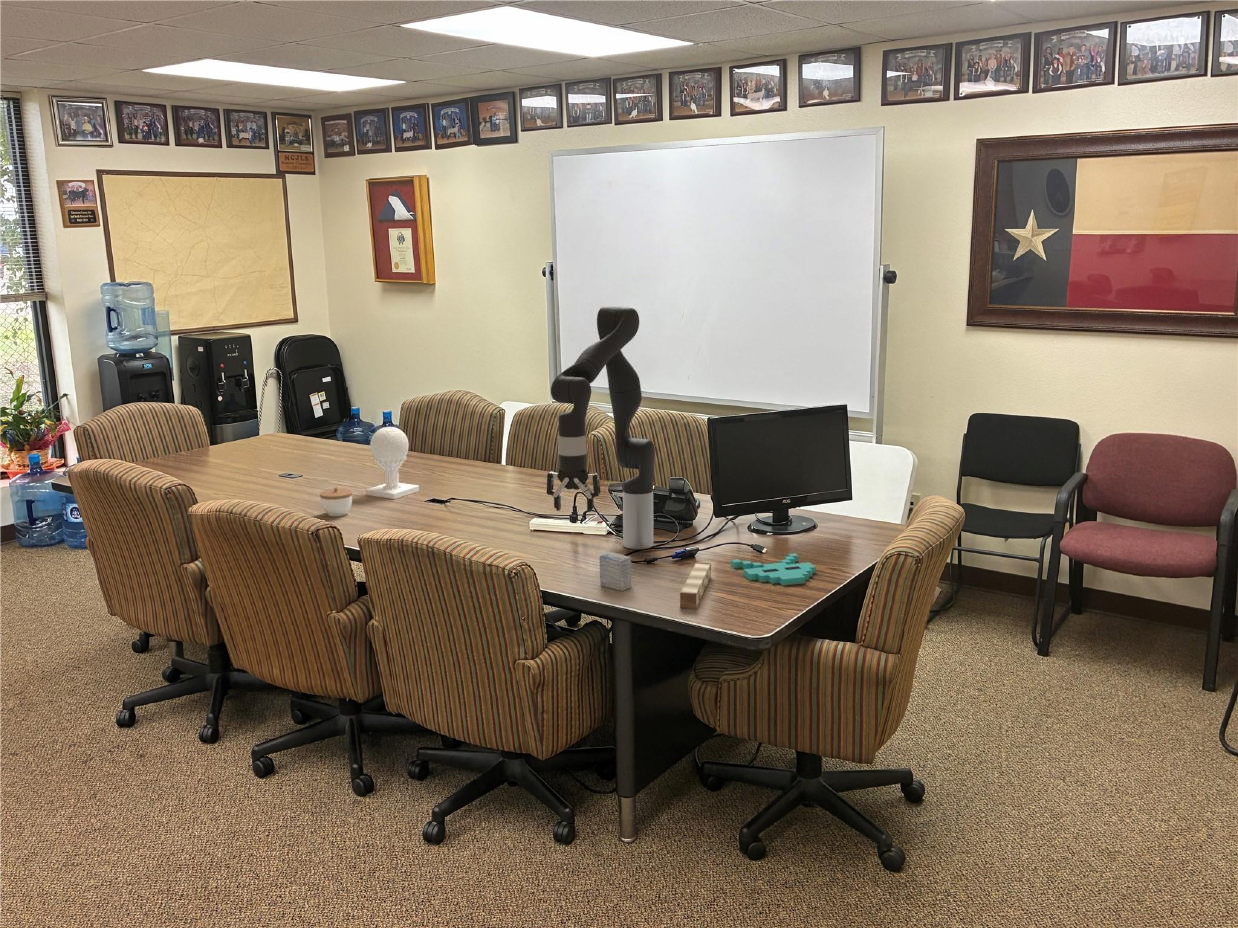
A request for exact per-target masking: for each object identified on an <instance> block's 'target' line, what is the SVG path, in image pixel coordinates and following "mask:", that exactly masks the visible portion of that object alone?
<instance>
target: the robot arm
mask: <svg viewBox="0 0 1238 928" xmlns="http://www.w3.org/2000/svg"><path fill="white" fill-rule="evenodd" d="M596 316H597V317H596V329H597V334H598V338H599V340H598V341H596V342H594V343H593V344H591V345H589V346H588V347H586V348H585V350H583V351H582V352H581V354H580V355H579V356H578V357H577V358H576V361H574V363H573V364H571V365H570V366H568V368H566V369H564V370H563V371H562V372H561V373H559V374H558V375H557V376H556V377H555V378H554V380H553V381H552V383H551V387H550V395H551V398H552V399H553V400H554V401H555V402H556V403H560V404H568V405H569V404H570V405H573V407H572V409H571V411H567V412H566V411H564V412H562V413H561V414H559V416H558V441H557V442H558V443H557V444H558V445H557V453H558V455H557V456H558V472H554V471H553V470H552V471H549V472H548V473H547V474H546V494H547V495H548V496H549V495H550V496H552V497H553V507H554V509H556V511H557V512H560V511H561V509H562V499H561V498H562V496H561V495H560V494H561V493H562V492H563V490H564V489H566V490H575V491H577V490H581V492H582V493H583V494H584V495H585V496H586V511H587V513H590V512H591V511H592V510H594V507H595V501H594V500H595V499H594V498H597V497H599V496H600V494H601V484H600V482H601V481H600V474H599V473H598V472H595V473H589V472H588V453H587V449H588V447H587V438H586V418H587V412H588V409H589V408H588V407H589V403H590V400H591V396H592V387H591V384H592V383H593V382H594V381H595V380H596V379H597V378H598V376H599V374H600V373H601V372H602V370H603V369H604V367H605V369H606V376H607V384H608V392H609V398H610V403H611V408H612V410H611V411H612V416H613V422H614V434H615V437H614V438H615V453H616V459H617V463H618V465H619V466H620V467H621V468H624V469H630V470H639V473H638V475H637V476H635V477H631V478H628V479H626V480H624V481H623V483H622V531H623V532H622V535H623V536H622V537H623V539H622V541H623V545H622V546H623V547H624V548H626V549H631V550H645V549H650V548H652V547H653V546H654V480H655V463H656V448H655V444H654V441H653V440H651V439H646V438H638V437H637V438H634V437H631V435H630V434H631V433H630V426H631V422H632V421H633V419H634V417H635V416H636V413H637V412H638V410H639V408H640V407H641V406H640V405H641V403H642V401H643V400H642V399H643V398H642V397H643V395H642V388H641V382H640V377H639V375H638V373H637V371H636V370H635V367H633V366H632V364H631V363H630V362H629V360H628V359H627V358H626V356H625V355H624V353H623V352H622V350H623V348H624V347H625V346H626V345H628V343H629V342H631V340H633V339H634V337H635V336H636V335H637V333H638V332H639V329H640V328H639V327H640V315H639V312H638V311H637V310H636V309H635V308H633V307H629V306H617V305H616V306H615V305H605V306H601V307H600V309H599V310H598V312H597V314H596ZM556 479H558V481H559V482H560V485H559V486H558V487H557V489H556V490H555V489H554V487H555V486H554V484H555V483H554V482H555V480H556ZM589 479H590V482H591V483H592V485H593V490H592V489H591V487H590V485H589V484H588V483H587V481H588V480H589Z"/></svg>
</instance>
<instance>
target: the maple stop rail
mask: <svg viewBox="0 0 1238 928" xmlns="http://www.w3.org/2000/svg"><path fill="white" fill-rule="evenodd" d="M711 575H712V562H700V561H696V562H695V563H694V566H693V567H692V570H691V572H690V574H689V576H688V578H687V580H686V581H685V584H684V585H683V587H682V589H681V591H680V592H679V606H680V607H679V608H680V609H688V610H689V609H690V610H697V608H698V605H699V603H700V601H701V598H702V596H703V594H704V592H705V590H706V588H707V585H708V583H709V581H710V579H711V578H712V576H711Z"/></svg>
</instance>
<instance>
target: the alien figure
mask: <svg viewBox="0 0 1238 928" xmlns="http://www.w3.org/2000/svg"><path fill="white" fill-rule="evenodd" d="M783 557H784V558H783V559H781V560H780V562H775V563H765V564H763V563H761V562H760V561H759V562H751V561H750V560H745V561H742V560H740V559H737V558H736V559H731V561H730V563H731V565H730V566H731V567H732V568H733V569H740V568H742V570H743V572H742V573H743V577H745V578H746V579H747V580H748V581H755V580H756V581H758V582H760V583H767V582H768V583H769V584H771V585H772V584H780V585H781V587H783V586H784V587H785V586H791V585H799V584H805V583H806V581H808V580H809V578H811V577H813V574H816V573H817V567H816V566H815V565H814V564H812V563H811V562H809V561H808V562H799V554H797V553H795V552H794V553H788V554H787V556H783ZM796 562H799V563H796Z"/></svg>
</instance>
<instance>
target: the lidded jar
mask: <svg viewBox="0 0 1238 928" xmlns="http://www.w3.org/2000/svg"><path fill="white" fill-rule="evenodd" d="M319 497H320V498H319V499H320V503H321V507H322V510H323V511H324V512H325V513H326V514H327V515H328V516H329V517H342V516H346V515H347V514H348V512H349V511H350V509H351V508H352V504H353V491H352V489H347V488H338V487H334V488H331V489H327V490H324V491H321V492H320V493H319Z"/></svg>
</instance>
